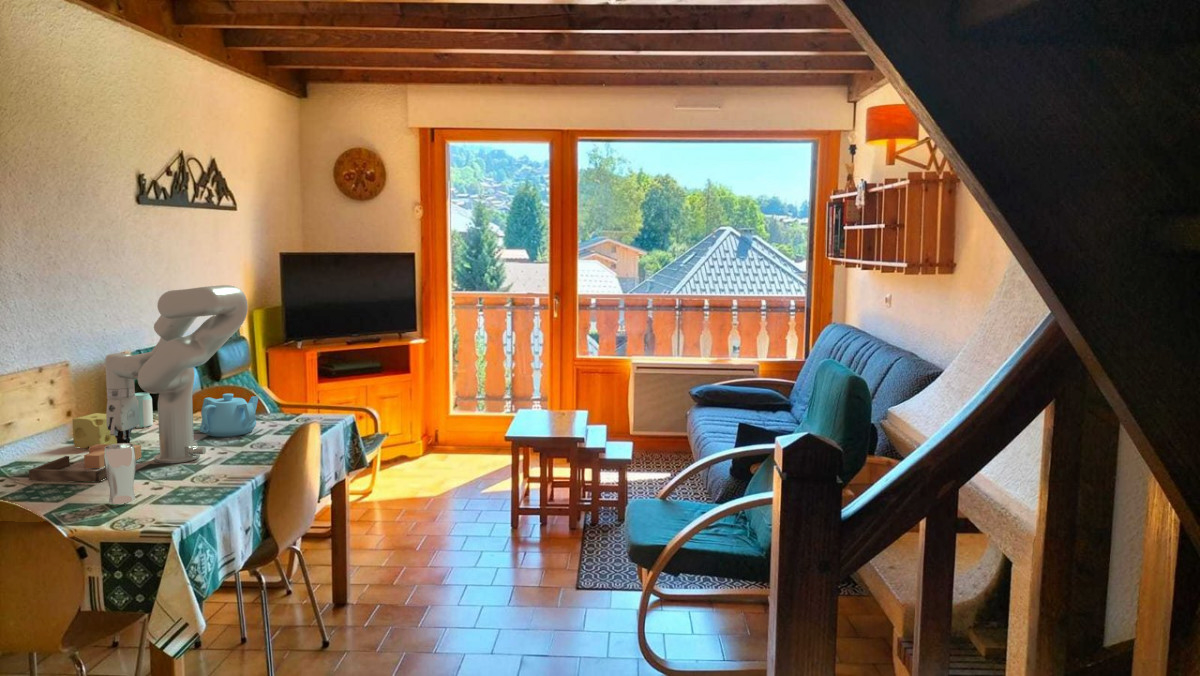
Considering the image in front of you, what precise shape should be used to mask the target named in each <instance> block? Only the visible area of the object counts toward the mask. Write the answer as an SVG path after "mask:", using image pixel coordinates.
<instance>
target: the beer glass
mask: <svg viewBox="0 0 1200 676" xmlns="http://www.w3.org/2000/svg"><path fill="white" fill-rule="evenodd" d="M134 445H135V444H134V443H131V442H130V443H119V444H112V445H108V446H106V447H105V454H104V464H105V467H104V468H105V472H106V476H107V479H106V480H107V483H108V487H109V498H108V499H109V500H108V504H109V503H110V504H114V505H115V504H124V503H127V502H131V501H133V500H135V499H136V496H135V491H134V482H135V476H136V467H137V460H136V458H135V450H134Z"/></svg>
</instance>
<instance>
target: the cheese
mask: <svg viewBox="0 0 1200 676" xmlns="http://www.w3.org/2000/svg"><path fill="white" fill-rule="evenodd" d="M72 436H73V437H72V439H73V445H74V448H75V447H80V448H79V449H89V448H88V447H91V446H94V445H97V444H106V445H112V444H117V439H116V438H115V436H114V435H110V431H109V430H108V429H107V421H106V413H99V412H95V413H91V414H86V415H84V416H79V417H74V418H72Z"/></svg>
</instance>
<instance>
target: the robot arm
mask: <svg viewBox="0 0 1200 676" xmlns="http://www.w3.org/2000/svg"><path fill="white" fill-rule="evenodd" d="M248 305H249V304H248V300H247V296H246V294H245V293H244V291H242V289H240V288H239V287H236V286H234V285H231V284H230V285H227V284H224V285H223V284H222V285H211V286H201V287H200V286H199V287H193V288H185V289H184V288H183V289H172V290H168V291H166V292H164V293H163V294H162V295H160V297H159V298H158V301H157V310H158V313H159V314H160V316H159V317H158V318H157V320H156V321H155V322H154V323H153V329H154V332H155V333H156V334H157V335H158V336H159V337H160V338H159V341H158V342H157V343H156V345H155V346H154V347H153V348H152V350H151V351H148V352H144V353H138V354H131V353H128V352H127V353H125V352H115V353H110V354H107V355H106V356H105V358H104V359H105V361H104V362H105V365H104V366H105V382H106V383H105V384H106V399H107V402H106V413H105V414H106V421H107V429H108V430H109V431H110V435H114V436H115V438H116V439H117V444H119V443H131V437H132V431H134V430H135V429H136V428H135V427H136V426H138V425H139V423H140V418H139V409H138V402H137V398H136V395H135V393H136V390H135V380H137V383H138V385H139V387H140V389H141V390H142V391H144V393H150V394H158V399H157V417H158V419H157V420H158V437H159V438H158V439H159V453H158V454H156V455H155V456H154V458H153V459H154V462H156V463H158V462H159V464H180V463H186V462H192V461H194V460H196V459H199V458H200V457H201V455H205V454H206V453H207V447H206V446H198V442H195V436H194V434H195V433H194V414H193V413H194V411H193V390H194V383H195V382H194V381H195V368H196V367H199V366H202V365H204V364H206V363H207V362H208V361H209V360H210V359H211V358H212V357H213V356H214V355H215V354H216V353H217V352H218V351H219V350H220V349H221V347H223V346H224V345H225V343H226V342H227V341H228V340H229V339H230V338H232V336H233V335H234V334H235V333H237V331H238V330H239V329H240V328H241V327H242V325H243V324H244V322H245V320H246V318H247V315H248V307H249V306H248ZM208 316H210V317H209V318H208V319H206V320H205V321H204V322H202V324H201V325H200V326H199V327H198V328H196V330H195V331H194V332H192V333H191V334H189V335H186V336H185V334H186V333H187V331H188V330H189V328H190V327H192V324H193V323H194V322H195V321H196V319H197V318H198V317H208Z"/></svg>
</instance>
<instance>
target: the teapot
mask: <svg viewBox="0 0 1200 676" xmlns="http://www.w3.org/2000/svg"><path fill="white" fill-rule="evenodd" d="M258 401H259V396H254V395H253V396H251V397H250V399H249V401H248V402H247V401H246V399H244V398H242V397H234V393H224V394H222V398H221V397H220V398H213V397H210V396H209V397H205V398H204V399H203V403H202V407H201V412H200V415H201V422H200V426H199V431H200V432H201V433H203V434H205V435H207V436H209V437H215V438H229V437H237V436H244V435H247V434H249V432H250V433H251V432H252V431H253V430H254V429H255V428H256V426H257V417H256V410H257V407H258V403H259V402H258Z"/></svg>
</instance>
